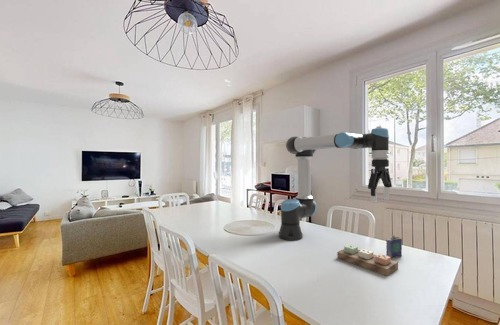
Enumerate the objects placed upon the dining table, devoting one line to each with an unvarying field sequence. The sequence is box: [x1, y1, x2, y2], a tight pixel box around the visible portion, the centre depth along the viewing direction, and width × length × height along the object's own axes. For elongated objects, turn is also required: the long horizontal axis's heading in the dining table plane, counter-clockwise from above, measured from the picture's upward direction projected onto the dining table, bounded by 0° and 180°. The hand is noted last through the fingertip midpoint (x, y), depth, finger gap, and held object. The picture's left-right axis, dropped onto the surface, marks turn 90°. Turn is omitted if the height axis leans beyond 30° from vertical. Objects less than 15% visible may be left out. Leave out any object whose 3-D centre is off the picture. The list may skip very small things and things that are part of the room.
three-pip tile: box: [375, 253, 392, 265], centre depth 102 cm, size 4×4×3 cm
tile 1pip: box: [343, 244, 359, 254], centre depth 114 cm, size 4×4×3 cm
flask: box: [385, 234, 403, 259], centre depth 116 cm, size 9×3×11 cm, turn 109°
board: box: [336, 248, 399, 277], centre depth 108 cm, size 23×11×3 cm, turn 36°
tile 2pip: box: [359, 248, 374, 260], centre depth 108 cm, size 4×4×3 cm
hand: (380, 201), depth 115 cm, fingers open, 13 cm apart
